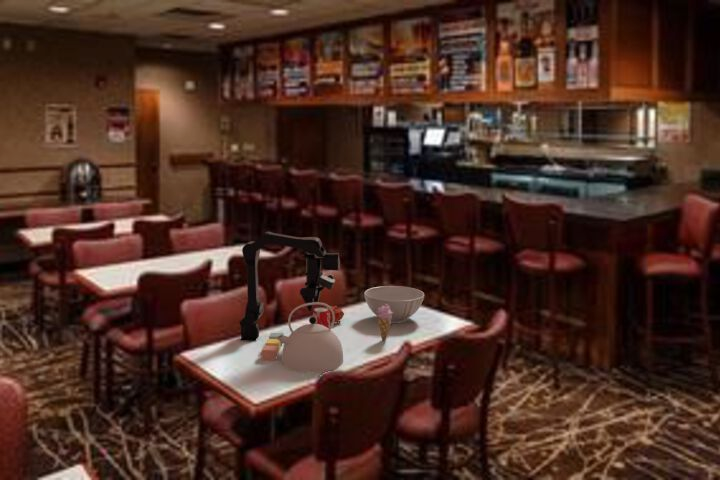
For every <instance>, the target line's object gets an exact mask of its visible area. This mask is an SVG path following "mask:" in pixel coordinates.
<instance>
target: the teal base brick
mask: <svg viewBox="0 0 720 480" xmlns="http://www.w3.org/2000/svg"><path fill="white" fill-rule="evenodd" d="M284 334H285V333H284V332H270V334H269V335H268V339H277V337H278V336H280V335H284ZM284 336H285V335H284ZM282 344H283V343H282V342H281V347H283V345H284V344H283V345H282Z"/></svg>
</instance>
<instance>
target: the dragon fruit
mask: <svg viewBox="0 0 720 480" xmlns="http://www.w3.org/2000/svg"><path fill="white" fill-rule="evenodd" d="M329 306H330V307H331V308H332V309H333V311H334V315H335V322H334V324H336V323H337V324H339V323H340V322H342V321H341V320H342V319H343V318H344V315H345V313H344V311H343V310H342V308H338V306H337V305H334V306H332V305H329ZM323 308H327V309H328V311H329V313H330V324H332V321H333V315H332V312H331V310H330V309H329V308H328V307H326V306H324V307H323ZM338 322H339V323H338ZM334 324H333V325H334Z"/></svg>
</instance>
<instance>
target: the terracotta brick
mask: <svg viewBox="0 0 720 480" xmlns="http://www.w3.org/2000/svg"><path fill="white" fill-rule="evenodd" d="M276 357H278V353H277V346H265V345H263V347H262V349H261V361H276V359H277V358H276Z"/></svg>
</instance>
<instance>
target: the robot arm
mask: <svg viewBox="0 0 720 480" xmlns="http://www.w3.org/2000/svg"><path fill="white" fill-rule="evenodd" d="M267 244H274V245H278V246H279V245H280V246H285V247H290V248H296V249H299V250H301V251H303V252H304V254H303V255H302V256H301V259H306V262H305V263H306V264H305V265H306V268H305V269H306V270H305V272H304V275H305V283H304V286H303V287H302V288H301V289H300V290H299V295H300V296H301V298H302V299H303V301H304V304H307V303H314V302H319V299H320V295H321V292H322V290H324V288H326V289H327V290H332V289H333V287H334V284H335V283H336V279H335V275H334V274H332V273H330V274H328V275H324V272H323V270H322V269H324V271H340V268H341V267H340V266H341V260H340V253H339V252H335V253H331V252H330V253H329V252H328V251H326V249H325V248H324V246H323V243H322V241H321V239H320V238H319V237H317V236H306V237H299V236H298V237H297V236H292V235H288V234H287V235H286V234H281V233H276V232H272V231H266V232H265V233H263V234H262V236H261V237H259V238H257V239H256V240H254V241H251V240H250V241H249V242H247V243H246V244H245V245H244V246H243V247H242V251H241V252H242V257H243V261H244V263H245V266H246V282H247V283H246V284H247V285H246V287H247V301H246V305H245V311H244V316H243V317H242V318H241V319H240V320H239V322H238V323H239V325H240V339H239V340H240V341H250V340H256V339H257V340H258V339H259V336H260V327H259V325H258V322H257V321H258V320H259V319H260V318H261V317H262V315H263V313H264V312H265V309H264V305H265V304H264V301H261V300H260V297H259V296H260V295H259V274H258V264H259V260H260V253H261V249H262V248H263V247H264V246H266V245H267ZM327 252H328V253H327ZM321 268H322V269H321ZM313 306H314V305H308V306H306V307H307V309H308V311H309V312H310V311H312V309H313ZM257 340H256V341H257ZM250 342H251V341H250Z"/></svg>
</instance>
